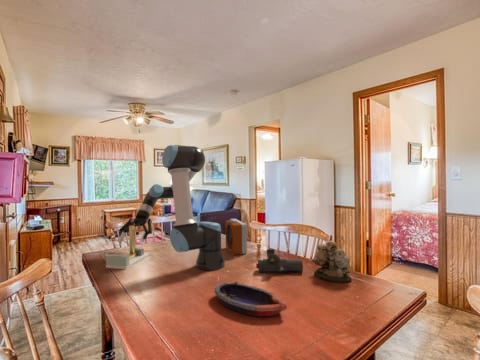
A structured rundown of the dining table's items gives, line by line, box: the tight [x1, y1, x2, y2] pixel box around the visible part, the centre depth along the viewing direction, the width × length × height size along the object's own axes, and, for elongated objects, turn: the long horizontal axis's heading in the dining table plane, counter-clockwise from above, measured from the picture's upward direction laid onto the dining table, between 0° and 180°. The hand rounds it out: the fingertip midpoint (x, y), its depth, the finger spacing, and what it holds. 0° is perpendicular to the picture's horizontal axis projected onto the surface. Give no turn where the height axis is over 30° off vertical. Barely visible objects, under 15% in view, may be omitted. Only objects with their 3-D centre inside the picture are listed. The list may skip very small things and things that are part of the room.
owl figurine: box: [311, 240, 352, 284], centre depth 127 cm, size 18×12×17 cm, turn 53°
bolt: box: [127, 224, 139, 260], centre depth 156 cm, size 12×3×18 cm, turn 168°
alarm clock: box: [225, 218, 248, 256], centre depth 172 cm, size 18×9×21 cm, turn 17°
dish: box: [214, 281, 288, 317], centre depth 100 cm, size 16×31×5 cm, turn 50°
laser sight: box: [255, 248, 304, 274], centre depth 135 cm, size 10×22×10 cm, turn 89°
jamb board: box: [105, 247, 150, 270], centre depth 153 cm, size 22×12×6 cm, turn 168°
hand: (129, 243), depth 154 cm, fingers open, 13 cm apart
